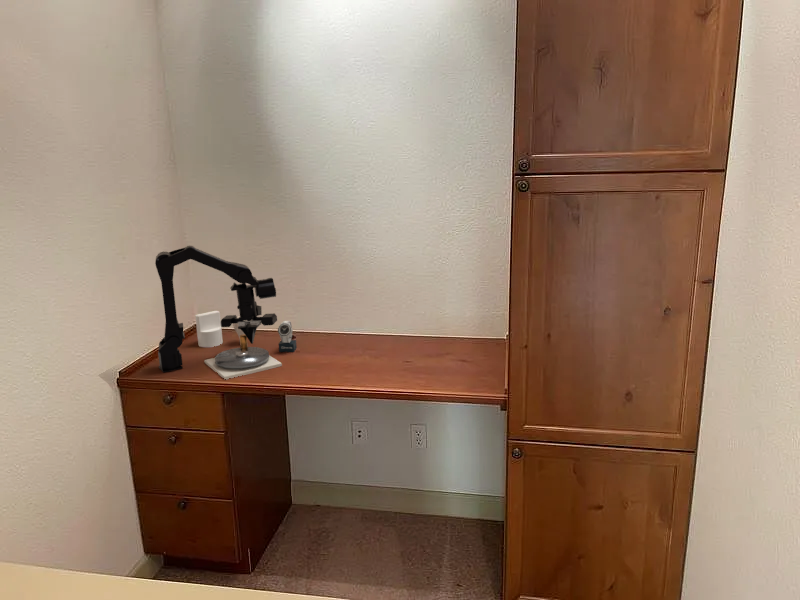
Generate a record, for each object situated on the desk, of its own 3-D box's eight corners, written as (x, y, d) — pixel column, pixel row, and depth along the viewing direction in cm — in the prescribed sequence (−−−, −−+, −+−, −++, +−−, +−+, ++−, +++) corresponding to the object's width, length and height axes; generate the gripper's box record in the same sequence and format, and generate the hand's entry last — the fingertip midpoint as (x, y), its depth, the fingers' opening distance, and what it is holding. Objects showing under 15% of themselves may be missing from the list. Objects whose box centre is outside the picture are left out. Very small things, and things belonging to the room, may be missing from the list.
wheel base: (225, 379, 195) (224, 375, 195) (204, 362, 211) (204, 358, 211) (281, 366, 207) (281, 361, 206) (258, 350, 222) (258, 347, 222)
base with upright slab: (204, 349, 226) (201, 318, 223) (194, 343, 232) (191, 313, 229) (226, 343, 232) (224, 313, 229) (216, 338, 238) (213, 309, 235)
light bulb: (254, 340, 234) (252, 313, 231) (248, 346, 228) (246, 318, 225) (238, 340, 235) (235, 313, 232) (232, 346, 228) (229, 318, 226)
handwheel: (267, 366, 201) (265, 348, 199) (211, 370, 199) (209, 351, 197) (270, 349, 218) (269, 332, 217) (219, 352, 216) (217, 335, 214)
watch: (277, 353, 219) (275, 324, 216) (283, 346, 227) (281, 318, 224) (292, 353, 219) (291, 324, 216) (298, 346, 226) (296, 318, 224)
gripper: (278, 294, 217) (284, 335, 221) (228, 296, 219) (234, 337, 223) (269, 302, 206) (275, 345, 210) (217, 304, 208) (223, 347, 212)
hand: (252, 343), depth 214 cm, fingers closed
